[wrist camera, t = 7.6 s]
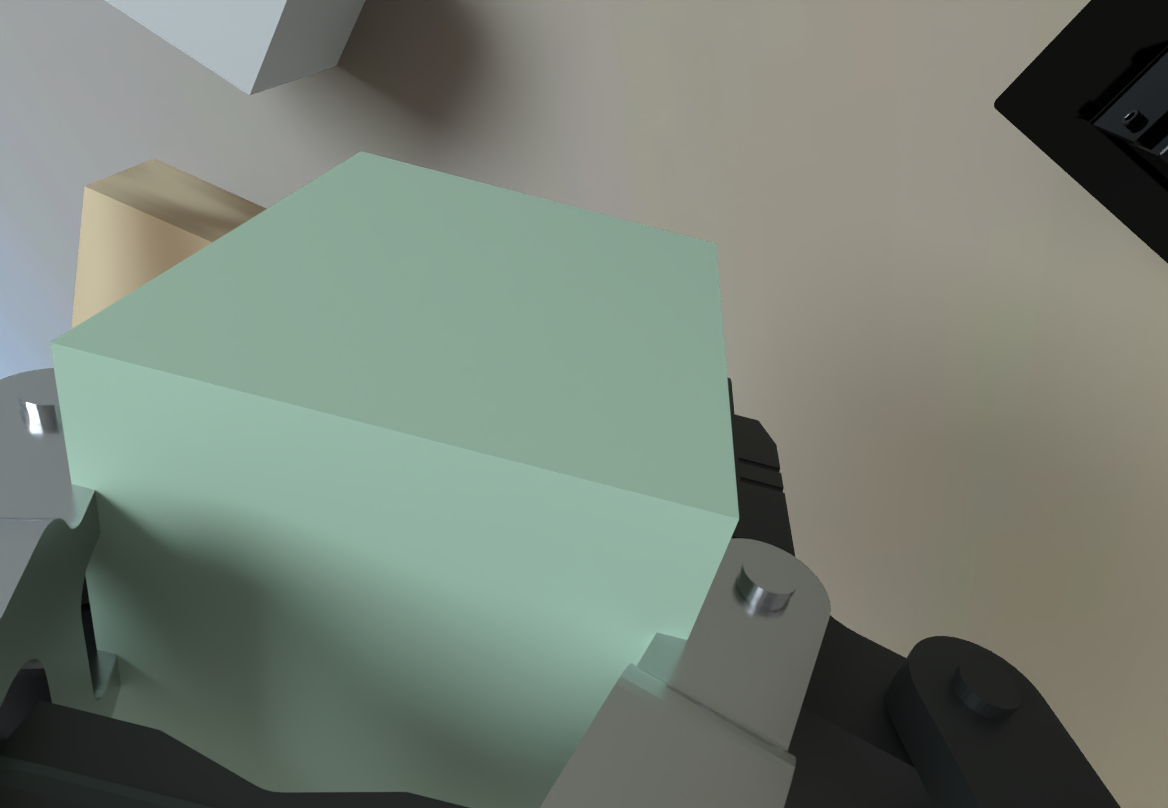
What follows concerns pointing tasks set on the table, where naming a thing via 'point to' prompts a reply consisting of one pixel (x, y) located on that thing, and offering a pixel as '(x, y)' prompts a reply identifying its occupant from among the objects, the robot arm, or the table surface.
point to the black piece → (1105, 109)
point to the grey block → (252, 35)
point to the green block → (401, 481)
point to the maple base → (146, 230)
